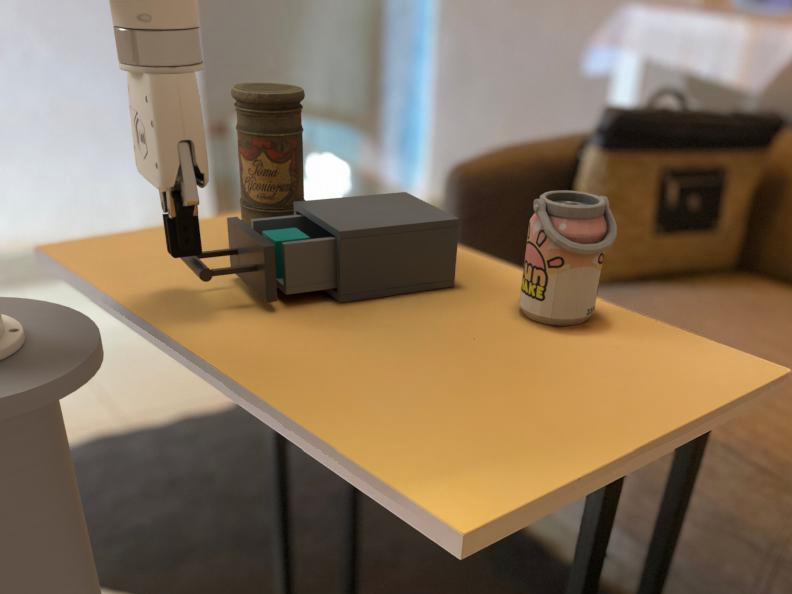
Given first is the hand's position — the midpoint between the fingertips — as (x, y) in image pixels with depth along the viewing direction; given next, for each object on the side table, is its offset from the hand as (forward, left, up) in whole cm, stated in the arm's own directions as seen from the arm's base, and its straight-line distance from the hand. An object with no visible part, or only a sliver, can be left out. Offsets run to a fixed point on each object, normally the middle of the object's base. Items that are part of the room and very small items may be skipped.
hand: (185, 254), depth 86 cm
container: (+13, +18, -5) cm, 22 cm away
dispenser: (+22, +4, -5) cm, 23 cm away
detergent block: (+11, +2, -3) cm, 12 cm away
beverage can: (+38, -12, -5) cm, 40 cm away
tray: (+10, +2, -4) cm, 11 cm away
